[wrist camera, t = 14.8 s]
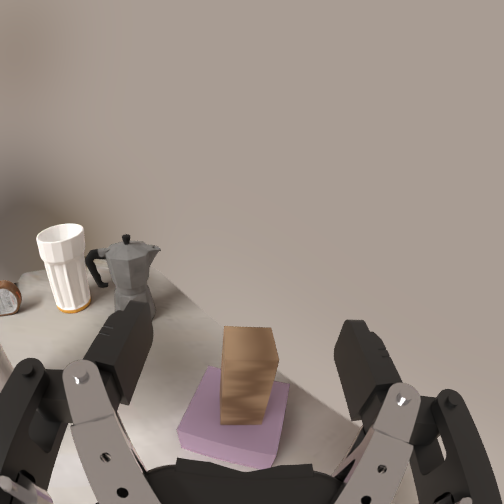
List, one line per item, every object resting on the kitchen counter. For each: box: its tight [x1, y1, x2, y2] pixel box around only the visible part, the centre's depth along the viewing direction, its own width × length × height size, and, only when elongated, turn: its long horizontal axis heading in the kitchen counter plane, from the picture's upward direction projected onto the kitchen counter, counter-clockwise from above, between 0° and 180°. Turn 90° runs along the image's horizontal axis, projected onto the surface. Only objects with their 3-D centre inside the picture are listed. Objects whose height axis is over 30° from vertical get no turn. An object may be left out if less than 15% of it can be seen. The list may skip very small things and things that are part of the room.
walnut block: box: [220, 326, 279, 425], centre depth 28 cm, size 5×5×12 cm
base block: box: [177, 366, 290, 469], centre depth 32 cm, size 12×12×6 cm
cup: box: [36, 224, 91, 313], centre depth 50 cm, size 11×11×17 cm
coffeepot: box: [85, 234, 161, 319], centre depth 50 cm, size 15×9×18 cm, turn 115°
